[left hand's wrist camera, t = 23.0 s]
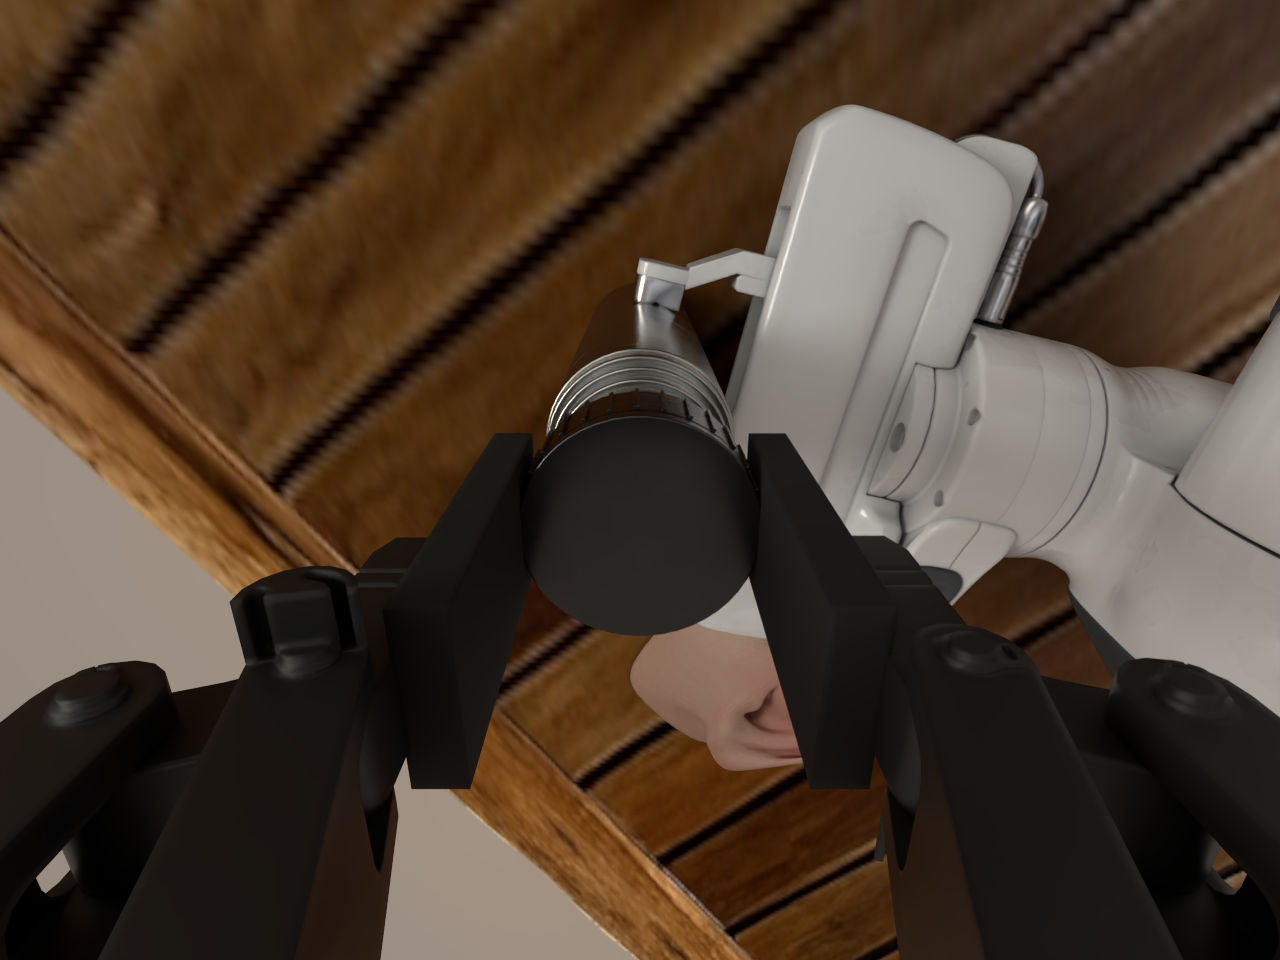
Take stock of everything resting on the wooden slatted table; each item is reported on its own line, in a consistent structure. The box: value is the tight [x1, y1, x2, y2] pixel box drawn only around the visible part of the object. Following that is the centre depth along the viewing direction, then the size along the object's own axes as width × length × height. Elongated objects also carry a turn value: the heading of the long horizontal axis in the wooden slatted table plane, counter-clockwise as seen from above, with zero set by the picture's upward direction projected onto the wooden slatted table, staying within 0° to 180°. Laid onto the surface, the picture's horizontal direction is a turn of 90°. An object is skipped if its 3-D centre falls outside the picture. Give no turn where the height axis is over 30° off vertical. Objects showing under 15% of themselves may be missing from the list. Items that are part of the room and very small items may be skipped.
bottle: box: [546, 283, 735, 441], centre depth 23 cm, size 5×5×20 cm
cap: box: [520, 388, 761, 636], centre depth 13 cm, size 5×5×2 cm
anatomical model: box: [630, 624, 803, 771], centre depth 37 cm, size 13×4×12 cm
